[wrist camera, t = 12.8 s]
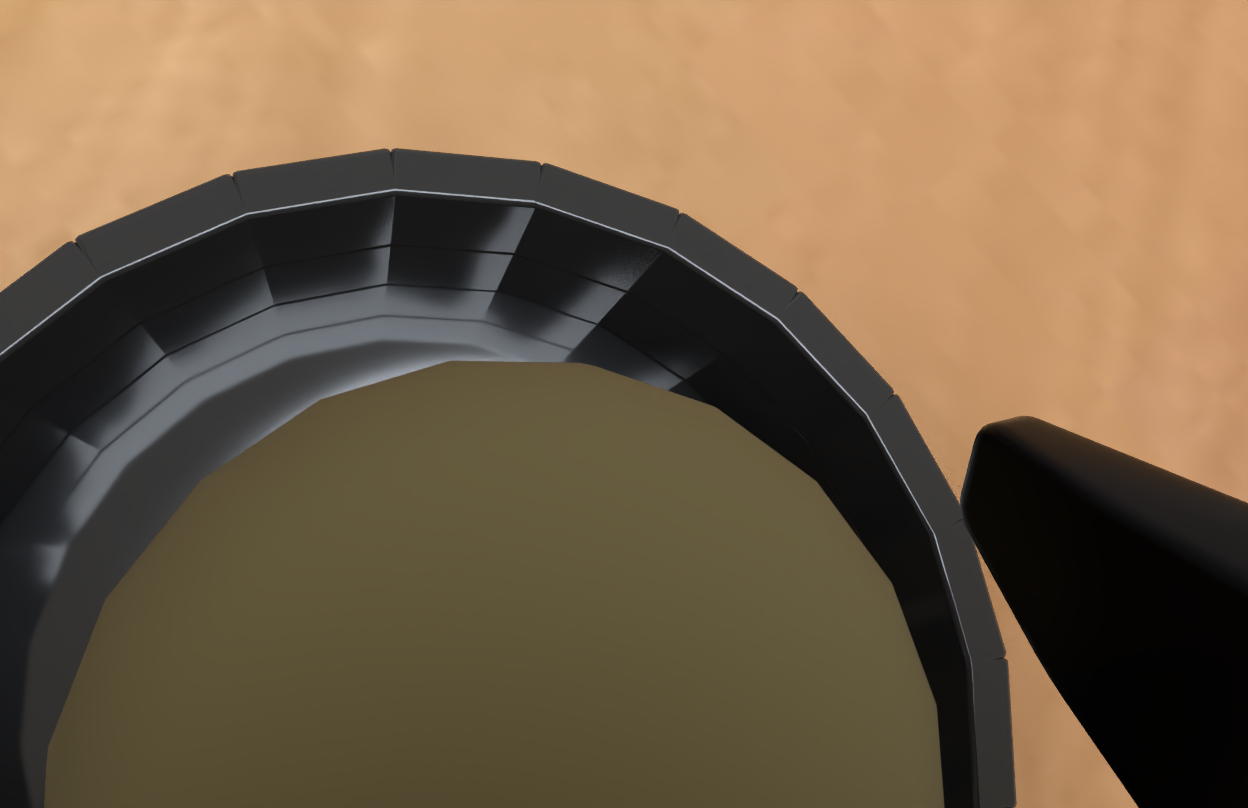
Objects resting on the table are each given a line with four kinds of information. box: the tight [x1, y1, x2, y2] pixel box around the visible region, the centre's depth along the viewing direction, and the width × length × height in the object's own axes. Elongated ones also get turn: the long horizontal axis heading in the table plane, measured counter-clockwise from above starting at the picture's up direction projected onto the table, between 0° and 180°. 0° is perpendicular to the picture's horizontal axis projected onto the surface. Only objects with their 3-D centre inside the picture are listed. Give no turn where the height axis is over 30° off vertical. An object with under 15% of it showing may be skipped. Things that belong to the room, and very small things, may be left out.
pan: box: [0, 148, 1016, 808], centre depth 14 cm, size 14×14×4 cm
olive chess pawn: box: [44, 361, 944, 808], centre depth 10 cm, size 6×6×11 cm
